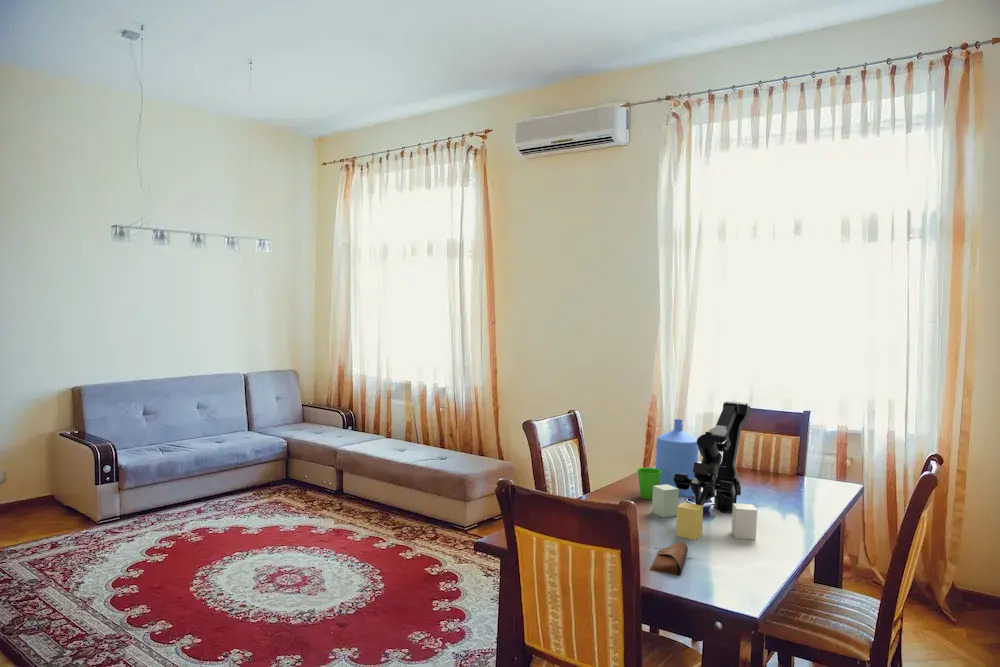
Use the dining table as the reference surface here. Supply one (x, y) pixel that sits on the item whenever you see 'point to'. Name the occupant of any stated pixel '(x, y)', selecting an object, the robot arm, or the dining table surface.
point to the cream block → (744, 521)
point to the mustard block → (689, 520)
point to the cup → (648, 481)
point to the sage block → (665, 500)
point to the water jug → (676, 456)
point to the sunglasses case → (670, 559)
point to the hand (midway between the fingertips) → (697, 508)
